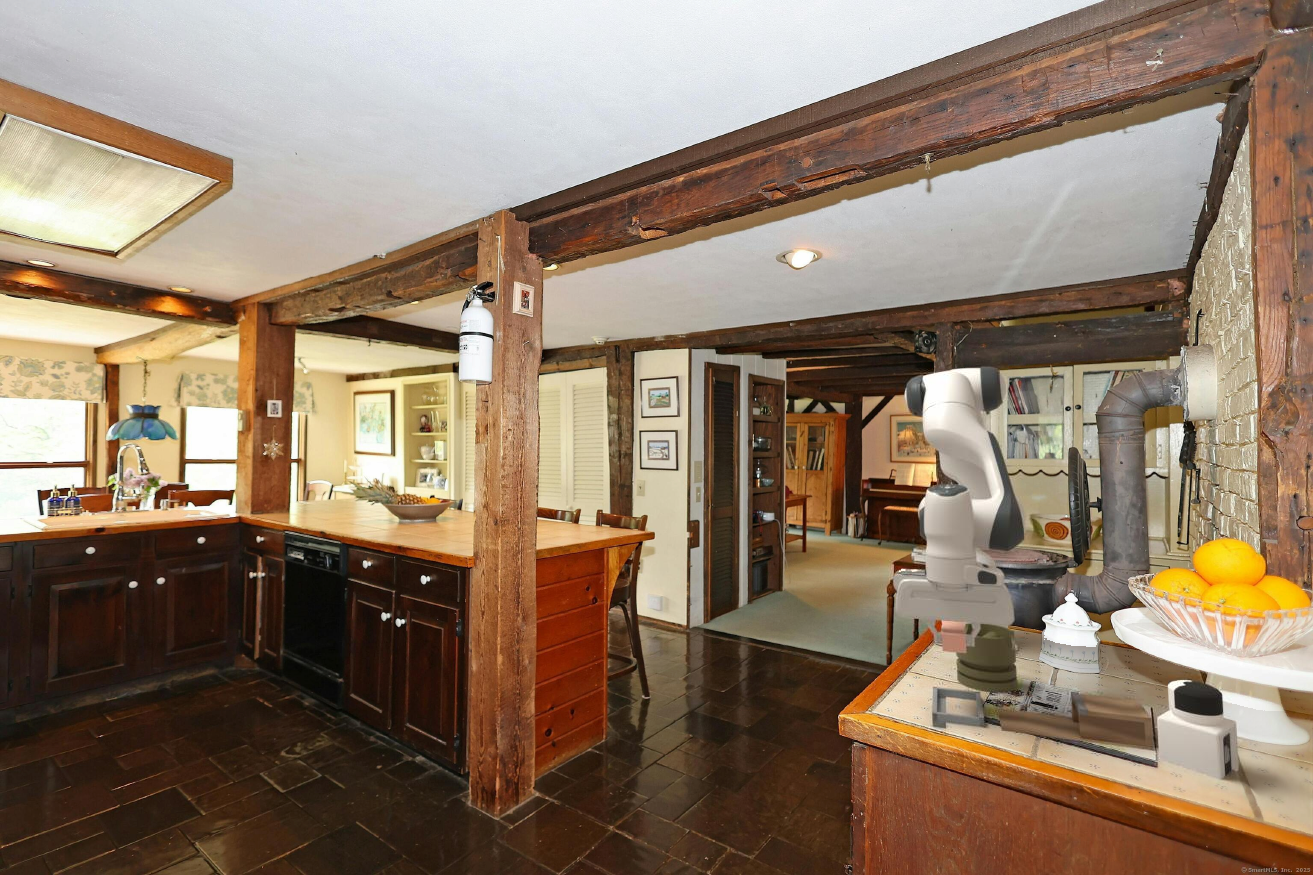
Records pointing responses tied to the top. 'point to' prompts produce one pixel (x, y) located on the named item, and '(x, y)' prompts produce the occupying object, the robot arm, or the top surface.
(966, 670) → the piston
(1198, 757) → the container
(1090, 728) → the brown slab
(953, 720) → the tray
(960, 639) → the salmon pink rectangular prism
